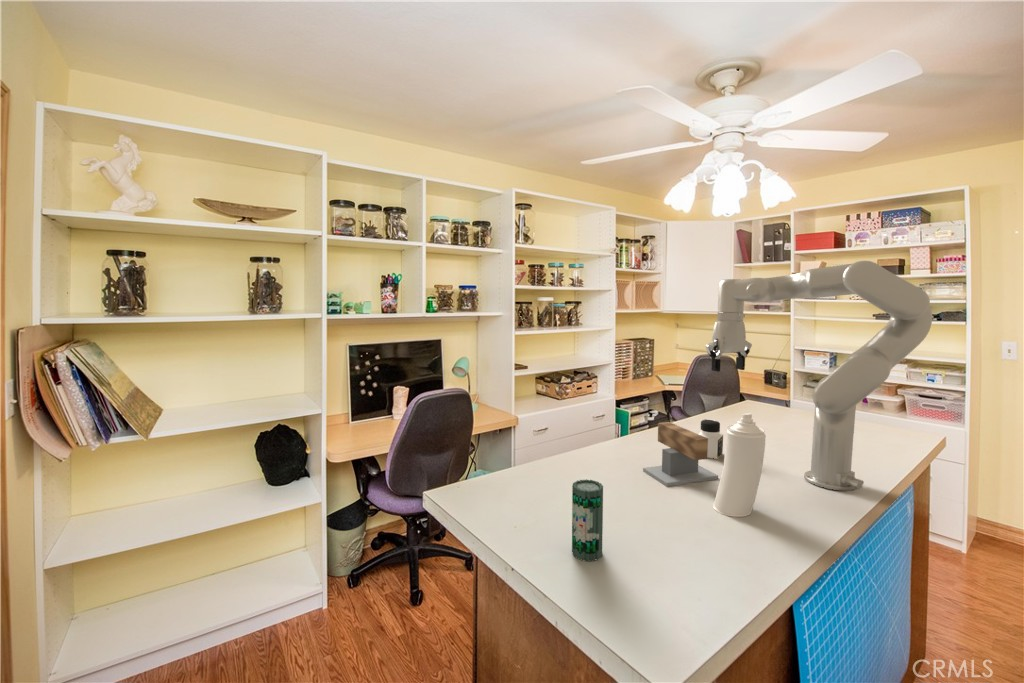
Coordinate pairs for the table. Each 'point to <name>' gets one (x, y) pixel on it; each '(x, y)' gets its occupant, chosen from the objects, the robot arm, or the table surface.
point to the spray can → (741, 468)
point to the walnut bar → (683, 440)
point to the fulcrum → (678, 469)
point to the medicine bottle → (712, 437)
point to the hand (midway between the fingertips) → (728, 370)
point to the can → (587, 519)
